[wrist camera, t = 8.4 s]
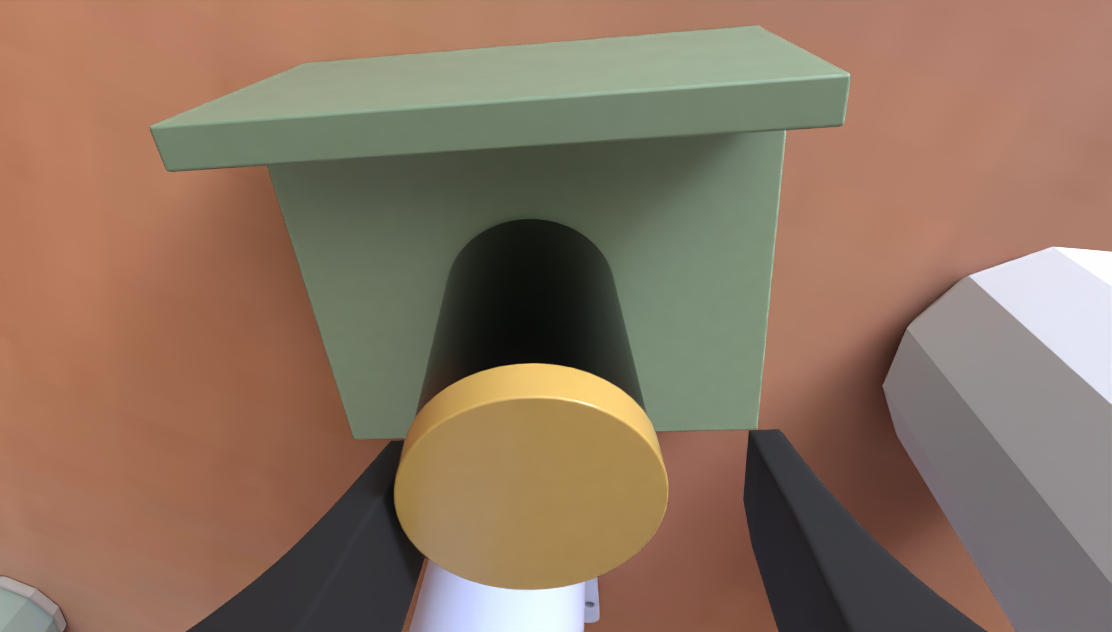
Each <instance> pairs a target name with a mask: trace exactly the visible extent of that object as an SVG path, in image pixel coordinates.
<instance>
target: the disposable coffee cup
mask: <svg viewBox="0 0 1112 632" xmlns="http://www.w3.org/2000/svg"><path fill="white" fill-rule="evenodd" d="M66 625H67V624H66V622H65V619H64V617H63V615H62V613H61V611H60V608H59V606H57V605H56V604H55V603H54V602H52V601H51V600H50V599H49V598H47V597H46V596H45V595H44V594H42V593H41V592H40V591H39V590H37V589H36V588H33V587H31V586H28V585H26V584H23V583H20V582H18V581H15V580H13V579H10V578H8V577H4V576H0V632H63V631H64V629H65V627H66Z"/></svg>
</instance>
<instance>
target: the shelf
mask: <svg viewBox="0 0 1112 632" xmlns="http://www.w3.org/2000/svg"><path fill="white" fill-rule="evenodd" d="M850 79H851V76H850V73H848V72H846V71H844V70H842V69H840V68H838V67H836V66H834V65H832V64H830V63H828V62H826V61H825V60H823V59H821V58H819V57H817V56H815V55H813V54H811V53H809V52H807V51H805V50H803V49H801V48H800V47H798V46H796V45H794V44H792V43H790V42H788V41H786V40H784V39H782V38H780V37H778V36H776V35H775V34H773V33H771V32H769V31H767V30H765V29H763V28H762V27H760V26H758V25H757V26H745V27H733V28H721V29H709V30H697V31H685V32H673V33H661V34H649V35H637V36H625V37H613V38H600V39H588V40H576V41H564V42H552V43H540V44H528V45H516V46H504V47H492V48H480V49H468V50H456V51H444V52H432V53H420V54H408V55H395V56H383V57H371V58H359V59H347V60H335V61H323V62H311V63H303V64H300V65H298V66H296V67H294V68H291V69H289V70H286V71H284V72H281V73H279V74H276V75H274V76H272V77H269V78H267V79H264V80H262V81H259V82H257V83H254V84H252V85H249V86H247V87H244V88H242V89H240V90H237V91H235V92H232V93H230V94H227V95H225V96H222V97H220V98H217V99H215V100H212V101H210V102H208V103H205V104H203V105H200V106H198V107H195V108H193V109H190V110H188V111H185V112H183V113H180V114H178V115H176V116H173V117H171V118H168V119H166V120H163V121H161V122H158V123H156V124H153V125H152V126H150V131H151V133H152V136H153V138H154V141H155V143H156V146H157V148H158V151H159V153H160V156H161V158H162V161H163V163H164V166H165V168H166V170H167V171H169V172H176V171H191V170H206V169H221V168H235V167H250V166H265V165H267V167H268V170H269V174H270V177H271V180H272V183H273V186H274V189H275V192H276V196H277V199H278V202H279V205H280V208H281V211H282V215H283V218H284V221H285V224H286V227H287V230H288V233H289V237H290V240H291V243H292V246H293V249H294V252H295V255H296V259H297V262H298V265H299V268H300V271H301V274H302V278H303V281H304V284H305V287H306V290H307V293H308V296H309V300H310V303H311V306H312V309H313V312H314V315H315V318H316V322H317V325H318V328H319V331H320V334H321V337H322V341H323V344H324V347H325V350H326V353H327V356H328V359H329V363H330V366H331V369H332V372H333V375H334V378H335V382H336V385H337V388H338V391H339V394H340V397H341V400H342V404H343V407H344V410H345V413H346V416H347V419H348V422H349V426H350V429H351V432H352V435H353V438H354V439H395V438H406V435H407V432H408V429H409V428H410V426H411V424H412V422H413V421H414V419H415V416H416V411H417V407H418V403H419V398H420V394H421V390H422V386H423V381H424V377H425V373H426V368H427V364H428V360H429V356H430V351H431V347H432V343H433V338H434V334H435V330H436V326H437V321H438V317H439V313H440V309H441V304H442V300H443V296H444V291H445V287H446V283H447V279H448V275H449V272H450V269H451V266H452V265H453V263H454V261H455V259H456V257H457V256H458V254H459V253H460V252H461V250H462V249H463V248H464V247H465V246H466V245H467V244H468V243H469V242H470V241H471V240H472V239H473V238H475V237H476V236H477V235H479V234H480V233H482V232H484V231H485V230H487V229H489V228H491V227H494V226H496V225H498V224H502V223H505V222H509V221H514V220H521V219H539V220H547V221H552V222H557V223H560V224H562V225H565V226H568V227H570V228H572V229H574V230H576V231H578V232H579V233H581V234H582V235H584V236H585V237H587V238H588V239H589V240H590V241H591V242H593V243H594V244H595V245H596V246H597V248H598V249H599V250H600V251H601V252H602V254H603V255H604V257H605V258H606V260H607V262H608V264H609V266H610V268H611V271H612V274H613V278H614V282H615V286H616V290H617V294H618V298H619V302H620V306H621V310H622V314H623V319H624V323H625V327H626V331H627V335H628V339H629V343H630V347H631V351H632V356H633V360H634V364H635V368H636V372H637V376H638V380H639V384H640V389H641V393H642V397H643V401H644V405H645V409H646V413H647V416H648V418H649V419H650V421H651V423H652V425H653V427H654V429H655V431H656V432H671V431H710V430H750V429H757V426H758V416H759V405H760V395H761V385H762V374H763V364H764V354H765V344H766V333H767V323H768V313H769V302H770V292H771V282H772V272H773V261H774V251H775V241H776V230H777V220H778V210H779V199H780V189H781V179H782V169H783V158H784V148H785V138H786V130H797V129H811V128H826V127H839V126H842V125H843V124H844V121H845V114H846V107H847V100H848V93H849V86H850Z"/></svg>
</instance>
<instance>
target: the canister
mask: <svg viewBox="0 0 1112 632" xmlns="http://www.w3.org/2000/svg"><path fill="white" fill-rule="evenodd" d="M668 494H669V487H668V477H667V473H666V469H665V465H664V461H663V457H662V453H661V449H660V445H659V442H658V438H657V434H656V431H655V429H654V427H653V425H652V423H651V421H650V419H649V418H648V416H647V413H646V409H645V405H644V401H643V397H642V393H641V389H640V384H639V380H638V376H637V372H636V368H635V364H634V360H633V356H632V351H631V347H630V343H629V339H628V335H627V331H626V327H625V323H624V319H623V314H622V310H621V306H620V302H619V298H618V294H617V290H616V286H615V282H614V278H613V274H612V271H611V268H610V266H609V264H608V262H607V260H606V258H605V257H604V255H603V254H602V252H601V251H600V250H599V249H598V248H597V246H596V245H595V244H594V243H593V242H591V241H590V240H589V239H588V238H587V237H585V236H584V235H582V234H581V233H579V232H578V231H576V230H574V229H572V228H570V227H568V226H565V225H562V224H560V223H557V222H552V221H547V220H539V219H521V220H514V221H509V222H505V223H502V224H498V225H496V226H494V227H491V228H489V229H487V230H485V231H484V232H482V233H480V234H479V235H477V236H476V237H475V238H473V239H472V240H471V241H470V242H469V243H468V244H467V245H466V246H465V247H464V248H463V249H462V250H461V252H460V253H459V254H458V256H457V257H456V259H455V261H454V263H453V265H452V266H451V269H450V272H449V275H448V279H447V283H446V287H445V291H444V296H443V300H442V304H441V309H440V313H439V317H438V321H437V326H436V330H435V334H434V338H433V343H432V347H431V351H430V356H429V360H428V364H427V368H426V373H425V377H424V381H423V386H422V390H421V394H420V398H419V403H418V407H417V411H416V416H415V419H414V421H413V422H412V424H411V426H410V428H409V429H408V432H407V435H406V438H405V441H404V444H403V448H402V452H401V456H400V460H399V464H398V468H397V473H396V477H395V483H394V505H395V510H396V514H397V517H398V520H399V522H400V524H401V527H402V529H403V530H404V532H405V534H406V535H407V537H408V539H409V540H410V541H411V542H412V543H413V545H414V546H415V547H416V548H417V549H418V550H419V551H420V552H421V553H422V554H423V555H424V556H426V557H427V558H428V559H429V560H431V561H432V562H433V563H435V564H436V565H438V566H439V567H441V568H443V569H445V570H446V571H448V572H450V573H452V574H454V575H457V576H459V577H461V578H464V579H466V580H469V581H472V582H476V583H479V584H482V585H487V586H492V587H497V588H504V589H512V590H544V589H553V588H561V587H565V586H570V585H575V584H578V583H582V582H585V581H588V580H591V579H594V578H596V577H599V576H601V575H604V574H606V573H608V572H610V571H612V570H613V569H615V568H617V567H619V566H620V565H622V564H623V563H625V562H626V561H628V560H629V559H631V558H632V557H633V556H634V555H636V554H637V553H638V552H639V551H640V550H641V549H642V548H643V547H644V546H645V545H646V544H647V543H648V542H649V541H650V540H651V538H652V537H653V535H654V534H655V532H656V531H657V529H658V528H659V525H660V523H661V521H662V519H663V517H664V514H665V510H666V507H667V503H668Z"/></svg>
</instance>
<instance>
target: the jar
mask: <svg viewBox="0 0 1112 632" xmlns="http://www.w3.org/2000/svg"><path fill="white" fill-rule="evenodd" d="M883 390H884V393H885V397H886V400H887V404H888V407H889V411H890V414H891V418H892V421H893V425H894V428H895V432H896V435H897V437H898V438H899V440H900V441H901V443H902V445H903V446H904V448H905V450H906V451H907V453H908V455H909V456H910V458H911V460H912V461H913V463H914V465H915V466H916V468H917V470H918V471H919V473H920V474H921V476H922V478H923V479H924V481H925V483H926V484H927V486H928V488H929V489H930V491H931V493H932V494H933V496H934V498H935V499H936V501H937V503H938V504H939V506H940V508H941V509H942V511H943V512H944V514H945V516H946V517H947V519H948V521H949V522H950V524H951V526H952V527H953V529H954V531H955V532H956V534H957V536H958V537H959V539H960V541H961V542H962V544H963V545H964V547H965V549H966V550H967V552H968V554H969V555H970V557H971V559H972V560H973V562H974V564H975V565H976V567H977V569H978V570H979V572H980V574H981V575H982V577H983V578H984V580H985V582H986V583H987V585H988V587H989V588H990V590H991V592H992V593H993V595H994V597H995V598H996V600H997V602H998V603H999V605H1000V607H1001V608H1002V610H1003V612H1004V613H1005V615H1006V616H1007V618H1008V620H1009V621H1010V623H1011V625H1012V626H1013V628H1014V630H1015V631H1016V632H1112V252H1107V251H1096V250H1085V249H1073V248H1062V247H1050V248H1047V249H1044V250H1042V251H1039V252H1036V253H1033V254H1030V255H1027V256H1024V257H1021V258H1018V259H1015V260H1012V261H1009V262H1007V263H1004V264H1001V265H998V266H995V267H992V268H989V269H986V270H983V271H980V272H977V273H974V274H971V275H969V276H966V277H964V278H962V279H961V280H960V281H958V282H957V283H956V284H955V285H954V286H953V287H951V288H950V289H949V290H948V291H947V292H946V293H944V294H943V295H942V296H941V297H940V298H939V299H937V300H936V301H935V302H934V303H933V304H932V305H930V306H929V307H928V308H927V309H926V310H924V311H923V312H922V313H921V314H920V315H919V316H917V317H916V318H915V319H914V320H913V321H912V322H911V324H910V325H909V326H908V327H907V329H906V331H905V333H904V336H903V338H902V341H901V343H900V345H899V348H898V350H897V353H896V355H895V357H894V360H893V362H892V365H891V367H890V369H889V372H888V374H887V377H886V379H885V381H884V384H883Z"/></svg>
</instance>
